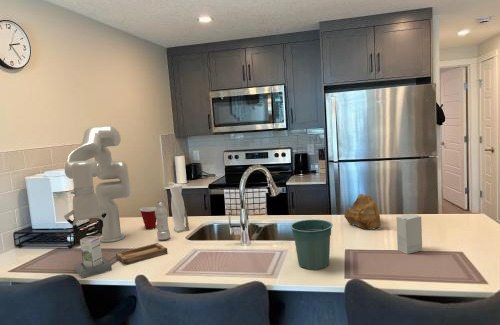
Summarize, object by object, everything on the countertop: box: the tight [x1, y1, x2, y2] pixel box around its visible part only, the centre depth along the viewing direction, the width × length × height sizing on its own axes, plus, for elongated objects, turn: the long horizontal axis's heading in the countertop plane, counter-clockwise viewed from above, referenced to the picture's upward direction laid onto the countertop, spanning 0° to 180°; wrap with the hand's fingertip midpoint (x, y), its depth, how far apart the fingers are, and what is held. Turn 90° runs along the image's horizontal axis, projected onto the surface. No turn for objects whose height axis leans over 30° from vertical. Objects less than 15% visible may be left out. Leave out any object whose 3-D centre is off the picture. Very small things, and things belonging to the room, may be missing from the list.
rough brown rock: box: [343, 193, 381, 230], centre depth 201 cm, size 23×17×15 cm
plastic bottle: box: [155, 201, 171, 241], centre depth 200 cm, size 6×7×20 cm
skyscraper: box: [168, 182, 190, 233], centre depth 216 cm, size 8×8×28 cm
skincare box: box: [396, 213, 423, 255], centre depth 158 cm, size 8×6×15 cm
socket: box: [74, 256, 113, 279], centre depth 162 cm, size 12×12×3 cm
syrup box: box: [79, 235, 103, 269], centre depth 162 cm, size 6×6×14 cm
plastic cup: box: [139, 206, 158, 230], centre depth 226 cm, size 11×11×12 cm
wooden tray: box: [115, 242, 169, 266], centre depth 177 cm, size 12×20×2 cm, turn 126°
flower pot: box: [290, 218, 334, 270], centre depth 151 cm, size 16×16×16 cm
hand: (88, 231), depth 160 cm, fingers open, 9 cm apart
